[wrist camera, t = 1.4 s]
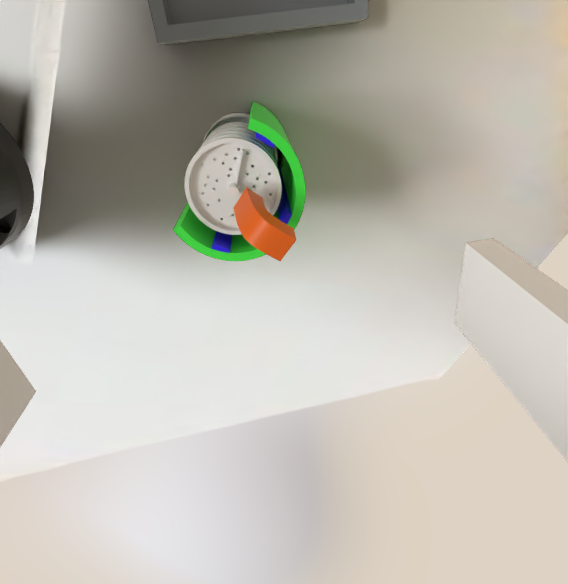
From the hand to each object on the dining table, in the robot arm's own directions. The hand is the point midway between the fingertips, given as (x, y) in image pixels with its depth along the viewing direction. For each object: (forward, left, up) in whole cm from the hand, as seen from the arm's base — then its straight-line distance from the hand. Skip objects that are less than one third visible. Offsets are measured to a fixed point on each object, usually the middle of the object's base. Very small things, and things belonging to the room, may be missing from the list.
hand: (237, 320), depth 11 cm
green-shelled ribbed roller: (0, -1, -29) cm, 29 cm away
